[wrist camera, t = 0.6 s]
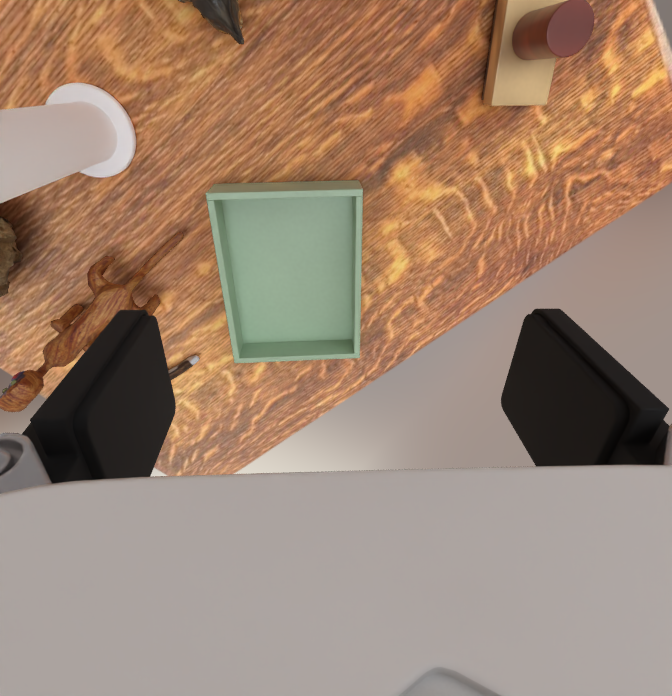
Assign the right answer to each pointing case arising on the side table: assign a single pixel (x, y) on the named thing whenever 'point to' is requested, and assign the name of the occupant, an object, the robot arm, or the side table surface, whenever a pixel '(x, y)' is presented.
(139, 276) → the wooden animal figurine
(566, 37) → the stamp
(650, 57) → the side table surface
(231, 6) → the shark head
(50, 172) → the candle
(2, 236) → the fossil
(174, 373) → the pocket knife
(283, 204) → the tray
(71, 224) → the side table surface
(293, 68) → the side table surface
